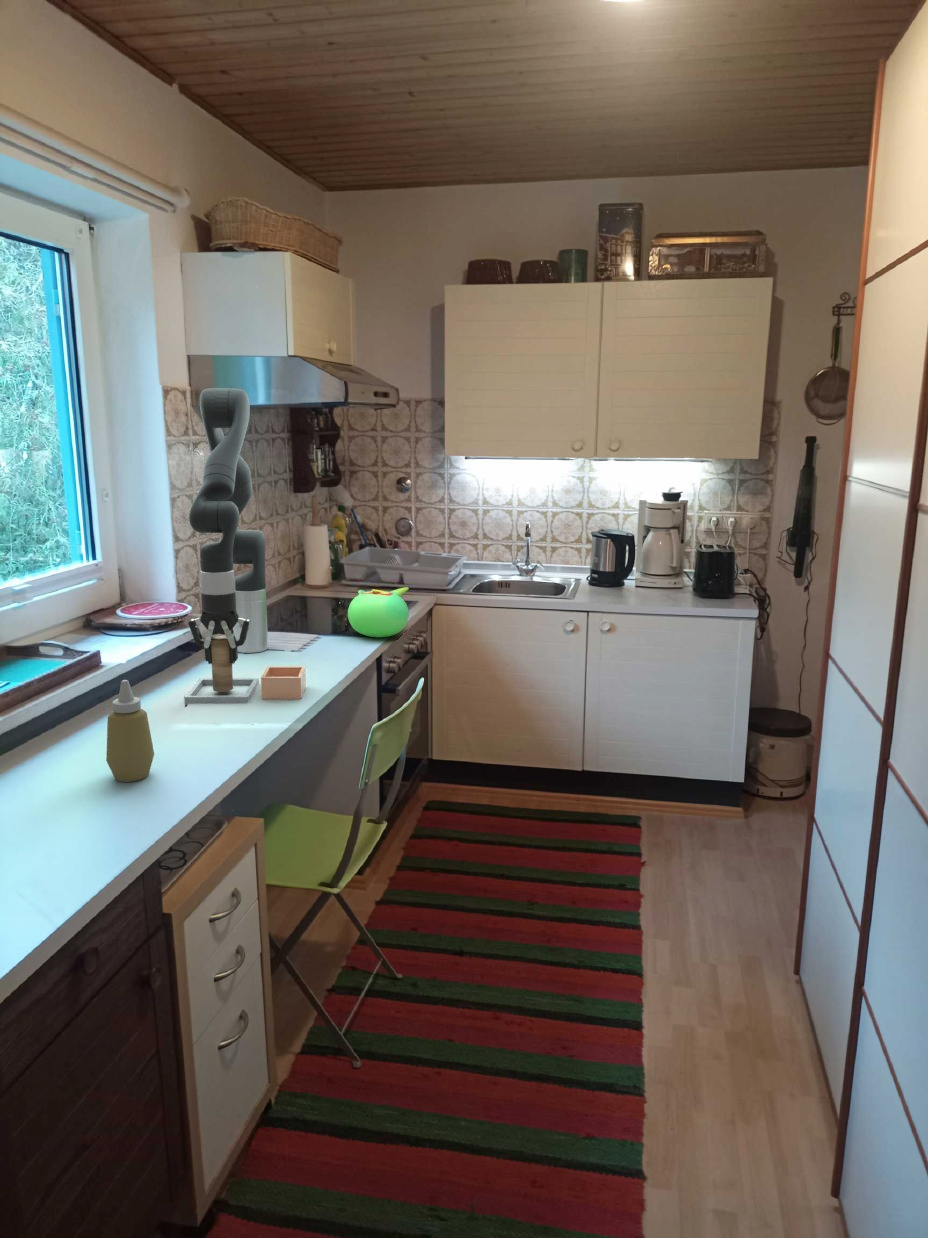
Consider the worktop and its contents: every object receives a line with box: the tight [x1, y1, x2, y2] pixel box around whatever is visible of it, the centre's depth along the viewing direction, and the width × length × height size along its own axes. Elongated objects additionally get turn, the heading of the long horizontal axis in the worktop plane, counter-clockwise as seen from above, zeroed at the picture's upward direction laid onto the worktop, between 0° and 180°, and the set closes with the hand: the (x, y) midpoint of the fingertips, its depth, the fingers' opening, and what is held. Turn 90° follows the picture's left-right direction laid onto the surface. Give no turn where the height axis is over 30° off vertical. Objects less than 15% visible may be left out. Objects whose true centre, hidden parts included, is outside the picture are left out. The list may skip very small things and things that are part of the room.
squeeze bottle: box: [105, 679, 155, 783], centre depth 154 cm, size 8×8×18 cm
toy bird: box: [347, 587, 410, 638], centre depth 256 cm, size 18×17×15 cm
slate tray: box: [184, 677, 260, 708], centre depth 200 cm, size 14×14×2 cm
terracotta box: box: [260, 666, 307, 700], centre depth 200 cm, size 9×9×6 cm
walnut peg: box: [211, 635, 234, 693], centre depth 198 cm, size 4×4×12 cm
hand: (221, 662), depth 198 cm, fingers closed on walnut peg, 4 cm apart
